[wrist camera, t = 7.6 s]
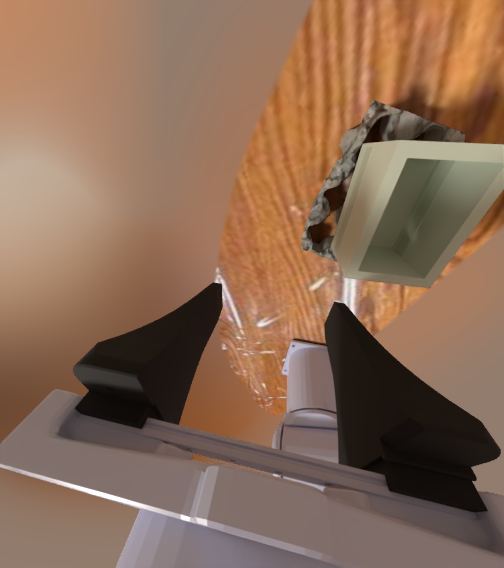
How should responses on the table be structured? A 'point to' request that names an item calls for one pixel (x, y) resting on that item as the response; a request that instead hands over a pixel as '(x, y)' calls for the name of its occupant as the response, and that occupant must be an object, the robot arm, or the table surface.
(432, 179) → the box
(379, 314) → the table surface
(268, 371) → the table surface
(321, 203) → the egg carton
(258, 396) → the table surface
